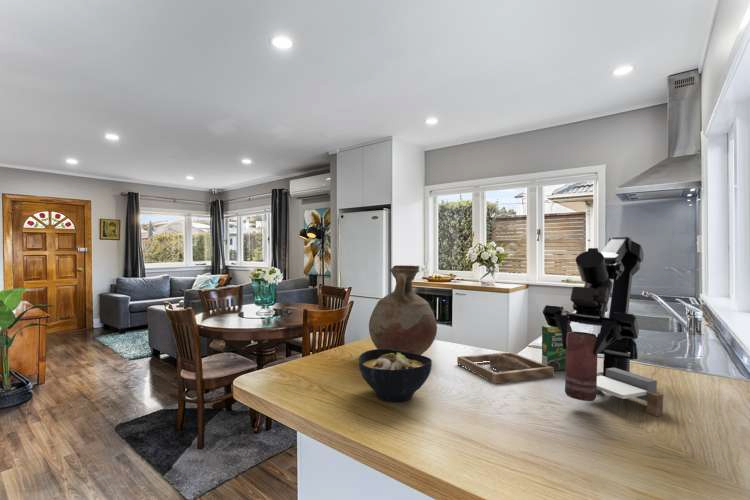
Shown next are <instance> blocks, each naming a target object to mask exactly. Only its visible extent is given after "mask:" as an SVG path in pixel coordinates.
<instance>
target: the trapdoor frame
mask: <svg viewBox="0 0 750 500" xmlns="http://www.w3.org/2000/svg"><path fill="white" fill-rule="evenodd" d="M599 373H600V372H597V376H600V375H602V374H599ZM598 393H603V391H600V390H598V389H596V394H598ZM646 413H647V414H650V415H652V416H655V417H660V416H663V414H664V394H662V393H659V392H657V393H656V392H647V401H646Z"/></svg>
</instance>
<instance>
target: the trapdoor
mask: <svg viewBox="0 0 750 500" xmlns="http://www.w3.org/2000/svg"><path fill="white" fill-rule="evenodd" d="M657 384H658V380H657V379H653V378H651V377H650V378H649V377H646V376H643V375H640V374H638V373H633V372H627V371H624V370H621V369H617V368H607V369H606V377H605V376H602V375H600V376H597V389H598V390H600V391H602V393H603V392H604V393H606V394H609V395H612V396H614V397H617V398H620V399H622V400H625V399H631V398H632V399H633V398H637V399H640V400H643V401H644V402H647V392H656V393H658V391H657V389H658V388H657V386H658V385H657Z"/></svg>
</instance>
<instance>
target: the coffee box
mask: <svg viewBox="0 0 750 500" xmlns="http://www.w3.org/2000/svg"><path fill="white" fill-rule="evenodd" d="M541 363H543V364H545V365H548V366H551V367H554V371H566V349H564V348H563V343H562V333H561V330H559V329H558V327H551V326H549V325H542V327H541Z"/></svg>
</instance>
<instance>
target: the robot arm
mask: <svg viewBox="0 0 750 500" xmlns="http://www.w3.org/2000/svg"><path fill="white" fill-rule="evenodd" d="M644 256H645V255H644V250H643V247H642V245H641V244H640V243H637V242H635V241H633V240H632V238H631V237H629V236H627V235H626V236H612V237H609V238H608V242H607V244H606V245H605V247H603V249H602V251H601V252H600V251H599V248H598V247H597V248H595V247H588V249H587V251H584V252H581V253H580V254H579V255H577V256H576V258H575V263H576V266H577V269H578V272H579V275H580V278H581V279H580V280H581V281H582V282H584V286H572V287H571V288H572V289H571V294H570V302H573V305H572V308H573V311H575V312H571V311H568V310H566V309H564V306H563V305H556V304H546V305H545V306H544V307H543V309H542V314H543V316H544V319H545V320H546V323H547V326H551V327H558V329H559V330H561V333H562V343H563V348H564V349H566V337H567V333H568V332H570V331H573V329H572V326H571V323H578V324H580V325H587V326H596V327H600V330H599V332H598V333H597V334H596V337H597V338H598V339H597V342H596V345H595V348H594V355H597V356H599V355H603V362H602V363H603V364H602V369H603V370H602V372H601V371H600V372H598V373H599V374H602V376H605V377H606V369H607V368H617V369H621V370H624V371H627V372H630V370H631V369H630V366H631V363H630V362H631V361H633V360H638V358H639V355H638V352H639V351H638V345H637V342H636V341H635V340H636V339H637V340H638V337H639V333H640V327H639V324H638V323H639V322H638V318H637V316H636V315H635V314H634V313H629V311H630V310H629V308H630V300H631V291H632V281H633V276H634V275H636V273H637V272H638V271H639V270H640V268H641V263H642V262H644ZM612 280H613V281H612ZM610 296H611V297H610ZM609 300H610V306H609V308H608V305H609V304H608V303H609ZM608 309H609V315H608V317H605V316H606V313H607V312H608ZM630 373H631V372H630Z"/></svg>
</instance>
